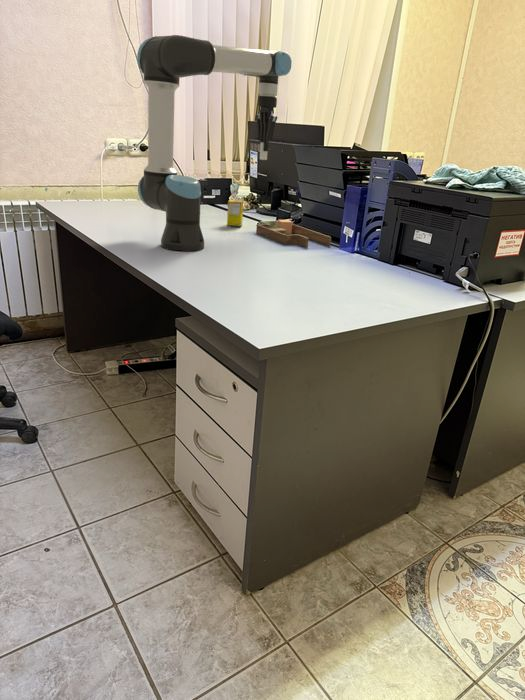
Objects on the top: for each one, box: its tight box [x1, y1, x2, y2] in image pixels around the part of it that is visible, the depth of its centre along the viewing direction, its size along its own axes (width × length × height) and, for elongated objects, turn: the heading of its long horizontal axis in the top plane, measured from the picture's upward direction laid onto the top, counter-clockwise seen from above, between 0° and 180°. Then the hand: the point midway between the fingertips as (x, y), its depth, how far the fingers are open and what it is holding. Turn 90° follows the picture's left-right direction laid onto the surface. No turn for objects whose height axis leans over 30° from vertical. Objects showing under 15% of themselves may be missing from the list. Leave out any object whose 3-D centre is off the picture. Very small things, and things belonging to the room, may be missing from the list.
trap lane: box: [255, 220, 332, 248], centre depth 206 cm, size 17×34×4 cm, turn 32°
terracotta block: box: [277, 219, 294, 235], centre depth 215 cm, size 5×5×5 cm
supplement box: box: [226, 198, 244, 228], centre depth 218 cm, size 6×6×11 cm
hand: (263, 159), depth 208 cm, fingers closed
